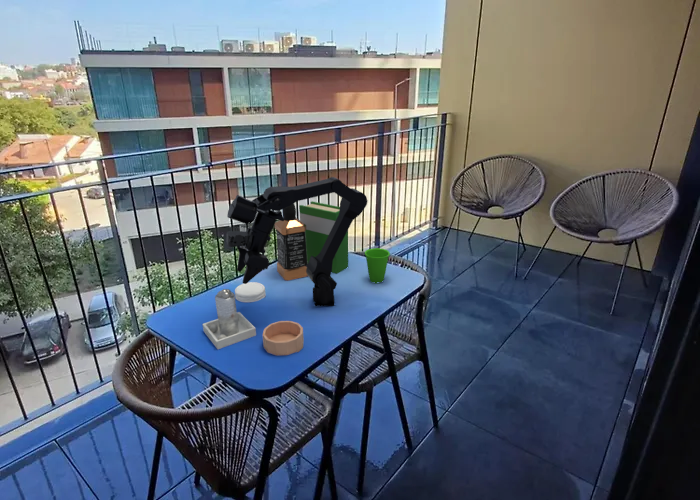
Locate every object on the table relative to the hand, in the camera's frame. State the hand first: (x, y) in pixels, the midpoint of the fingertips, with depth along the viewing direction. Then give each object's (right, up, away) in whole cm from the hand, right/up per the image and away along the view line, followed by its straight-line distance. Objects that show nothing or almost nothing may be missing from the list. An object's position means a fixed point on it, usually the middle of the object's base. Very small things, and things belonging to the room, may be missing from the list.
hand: (241, 277), depth 121 cm
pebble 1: (-7, -16, -3) cm, 17 cm away
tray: (-2, -16, -3) cm, 17 cm away
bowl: (+14, -18, -8) cm, 24 cm away
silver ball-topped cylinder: (-2, -16, -3) cm, 16 cm away
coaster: (-2, -8, +18) cm, 20 cm away
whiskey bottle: (+10, -1, +36) cm, 37 cm away
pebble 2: (-3, -18, -8) cm, 19 cm away
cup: (+42, -3, +30) cm, 51 cm away
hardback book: (+22, +2, +43) cm, 48 cm away
